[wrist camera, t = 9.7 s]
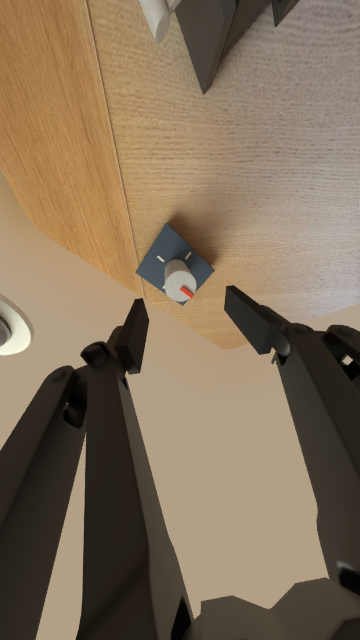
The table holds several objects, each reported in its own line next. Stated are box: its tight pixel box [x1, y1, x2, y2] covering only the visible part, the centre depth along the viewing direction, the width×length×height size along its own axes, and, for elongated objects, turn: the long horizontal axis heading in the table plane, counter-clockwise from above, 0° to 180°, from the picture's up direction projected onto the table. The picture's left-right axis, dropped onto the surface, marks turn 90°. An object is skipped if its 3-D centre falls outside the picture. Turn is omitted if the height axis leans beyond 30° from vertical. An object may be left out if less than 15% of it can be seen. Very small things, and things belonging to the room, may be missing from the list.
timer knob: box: [165, 259, 196, 302], centre depth 22 cm, size 4×4×9 cm
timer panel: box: [136, 223, 215, 306], centre depth 27 cm, size 12×10×3 cm
